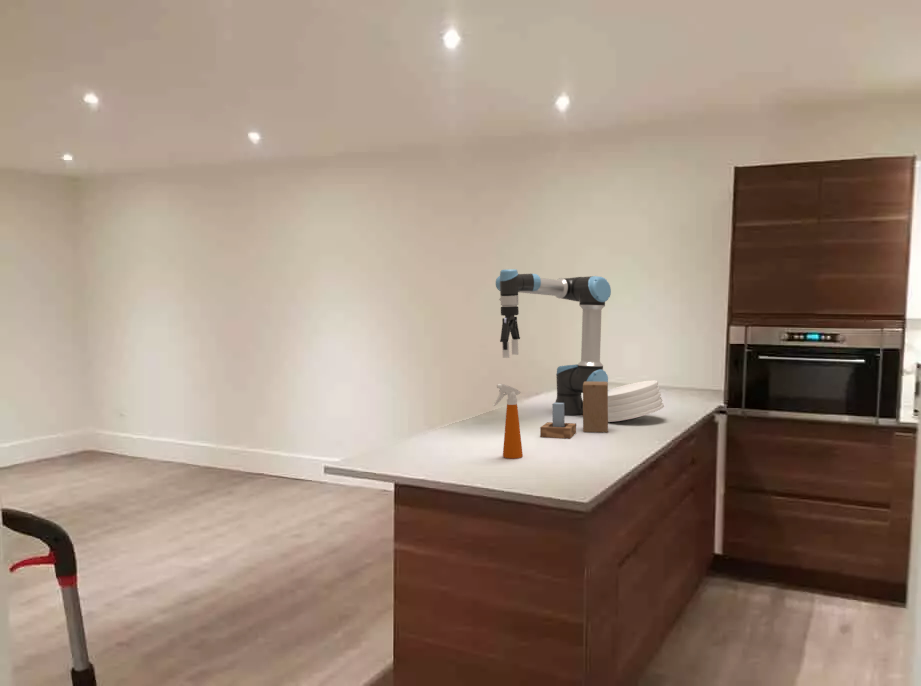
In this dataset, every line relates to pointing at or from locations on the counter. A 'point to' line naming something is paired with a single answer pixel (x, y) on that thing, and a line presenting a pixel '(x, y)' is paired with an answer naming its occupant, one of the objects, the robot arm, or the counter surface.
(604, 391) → the wooden block
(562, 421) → the tall blue pillar
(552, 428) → the square wooden frame
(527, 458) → the counter surface
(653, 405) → the plate stack
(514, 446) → the spray bottle
